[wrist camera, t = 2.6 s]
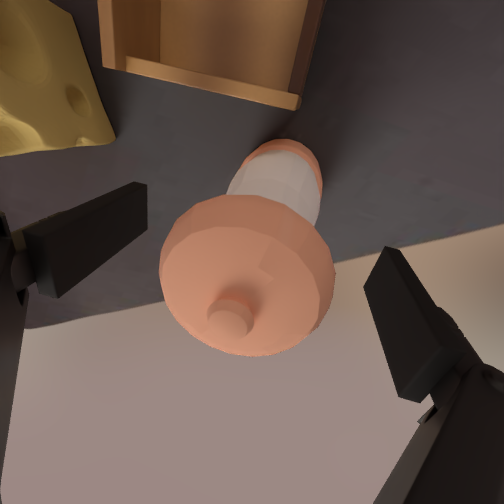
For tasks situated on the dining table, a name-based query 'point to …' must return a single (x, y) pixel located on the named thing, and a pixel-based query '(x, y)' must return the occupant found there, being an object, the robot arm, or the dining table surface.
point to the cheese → (46, 82)
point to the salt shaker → (253, 257)
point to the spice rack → (215, 44)
